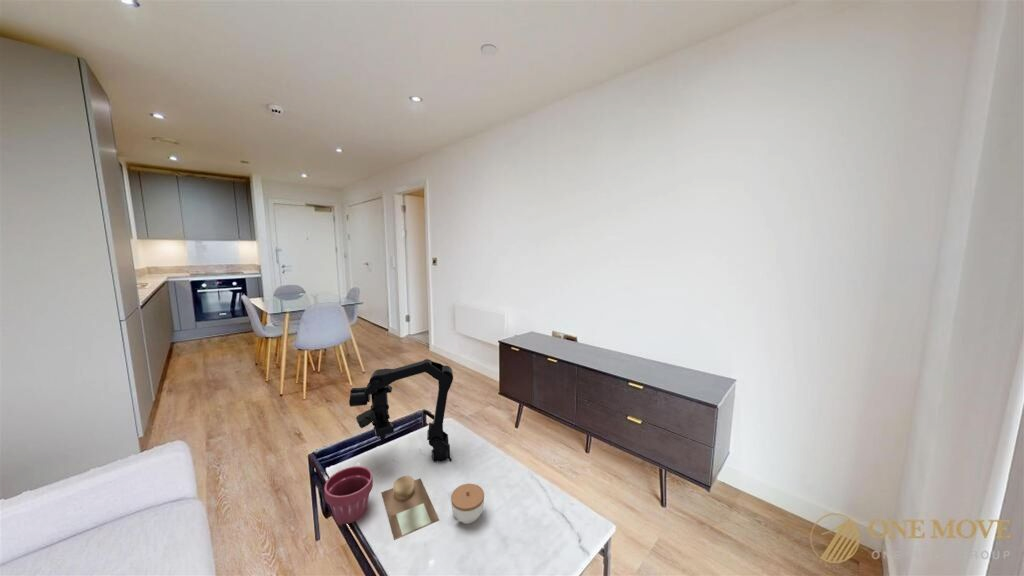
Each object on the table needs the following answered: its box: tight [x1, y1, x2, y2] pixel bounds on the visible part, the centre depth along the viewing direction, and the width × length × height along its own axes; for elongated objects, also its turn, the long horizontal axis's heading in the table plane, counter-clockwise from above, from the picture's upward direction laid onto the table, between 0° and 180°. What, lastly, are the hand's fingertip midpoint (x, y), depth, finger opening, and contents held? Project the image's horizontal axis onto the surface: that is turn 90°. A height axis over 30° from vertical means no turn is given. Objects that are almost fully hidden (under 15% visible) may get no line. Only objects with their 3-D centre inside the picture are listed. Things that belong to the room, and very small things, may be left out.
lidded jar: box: [450, 483, 485, 525], centre depth 109 cm, size 11×11×9 cm
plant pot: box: [323, 465, 374, 527], centre depth 109 cm, size 14×14×13 cm
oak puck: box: [392, 475, 415, 501], centre depth 118 cm, size 7×7×4 cm
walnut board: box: [380, 478, 440, 541], centre depth 113 cm, size 14×22×1 cm, turn 31°
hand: (382, 440), depth 131 cm, fingers closed
